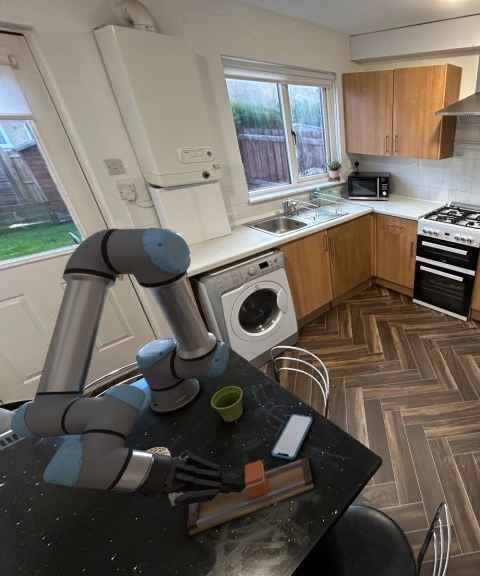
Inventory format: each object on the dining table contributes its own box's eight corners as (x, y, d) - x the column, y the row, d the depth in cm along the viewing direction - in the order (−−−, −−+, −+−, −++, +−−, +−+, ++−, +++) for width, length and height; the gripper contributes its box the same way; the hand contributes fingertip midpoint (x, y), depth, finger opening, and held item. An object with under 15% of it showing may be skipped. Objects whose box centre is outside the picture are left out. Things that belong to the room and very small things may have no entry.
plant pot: (236, 429, 101) (230, 411, 97) (211, 423, 102) (204, 405, 98) (253, 406, 109) (248, 388, 105) (229, 401, 110) (223, 384, 106)
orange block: (251, 484, 85) (244, 465, 80) (267, 478, 86) (261, 459, 82) (251, 503, 81) (244, 483, 76) (268, 496, 82) (262, 477, 78)
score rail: (194, 502, 82) (190, 496, 80) (308, 461, 92) (307, 455, 90) (190, 535, 75) (186, 529, 74) (313, 487, 85) (312, 481, 84)
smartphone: (313, 417, 104) (293, 458, 91) (313, 419, 105) (294, 461, 92) (292, 413, 105) (270, 453, 92) (292, 415, 106) (270, 456, 93)
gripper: (141, 456, 72) (235, 472, 86) (124, 515, 61) (234, 523, 75) (160, 434, 71) (251, 454, 85) (146, 490, 61) (253, 502, 74)
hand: (243, 486), depth 80 cm, fingers closed
